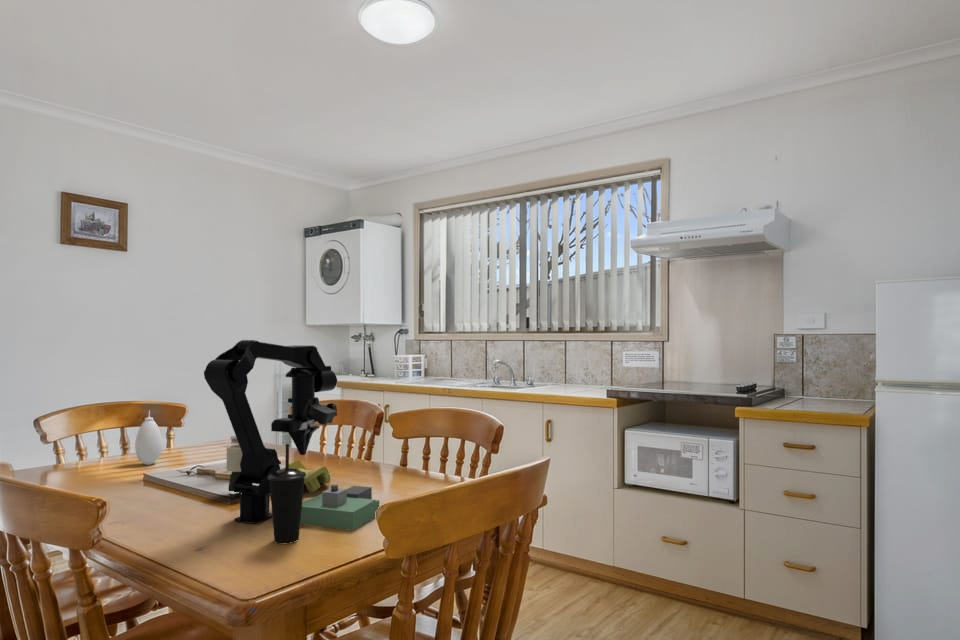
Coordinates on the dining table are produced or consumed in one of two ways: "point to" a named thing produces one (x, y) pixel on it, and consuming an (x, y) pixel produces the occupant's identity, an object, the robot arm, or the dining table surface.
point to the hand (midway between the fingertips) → (302, 454)
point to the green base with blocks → (337, 510)
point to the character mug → (233, 462)
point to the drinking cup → (286, 501)
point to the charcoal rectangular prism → (360, 492)
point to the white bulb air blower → (148, 442)
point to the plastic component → (311, 475)
